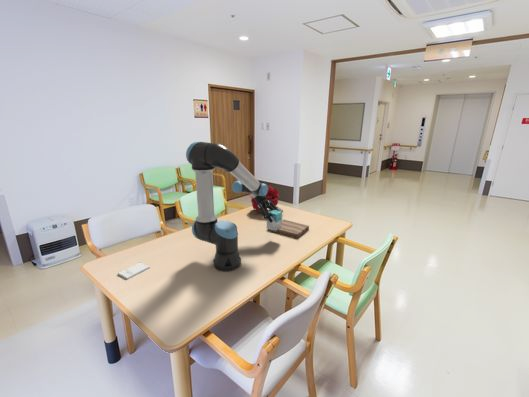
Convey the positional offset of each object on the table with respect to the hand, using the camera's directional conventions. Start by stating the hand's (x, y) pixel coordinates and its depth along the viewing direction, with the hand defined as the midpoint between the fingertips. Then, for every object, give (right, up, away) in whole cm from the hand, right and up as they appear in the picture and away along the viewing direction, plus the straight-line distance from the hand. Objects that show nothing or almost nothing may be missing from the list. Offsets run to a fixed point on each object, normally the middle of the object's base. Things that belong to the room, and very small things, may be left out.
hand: (278, 224), depth 168 cm
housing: (-3, -3, +3) cm, 5 cm away
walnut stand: (+8, -6, +21) cm, 23 cm away
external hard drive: (-77, -22, -32) cm, 86 cm away
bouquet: (-7, +4, +56) cm, 57 cm away
